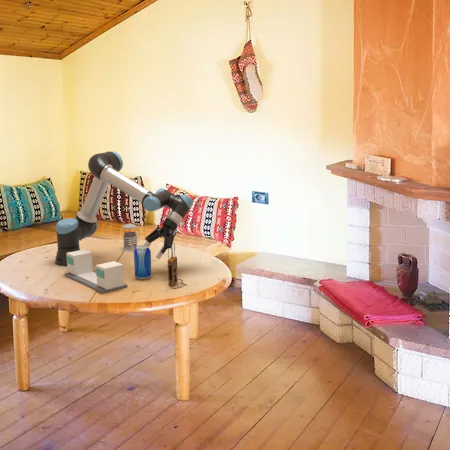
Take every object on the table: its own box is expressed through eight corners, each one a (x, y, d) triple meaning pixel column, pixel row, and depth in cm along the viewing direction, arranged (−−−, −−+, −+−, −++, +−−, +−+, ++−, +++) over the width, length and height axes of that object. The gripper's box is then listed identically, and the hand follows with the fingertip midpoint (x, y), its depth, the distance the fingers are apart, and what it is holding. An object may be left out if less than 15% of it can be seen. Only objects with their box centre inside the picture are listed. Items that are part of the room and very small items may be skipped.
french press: (130, 246, 390) (128, 205, 385) (144, 248, 384) (143, 207, 378) (118, 249, 382) (116, 208, 377) (133, 252, 376) (131, 210, 370)
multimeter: (186, 289, 310) (185, 249, 305) (166, 288, 312) (164, 248, 307) (193, 280, 324) (192, 241, 319) (174, 279, 326) (173, 240, 321)
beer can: (135, 275, 333) (134, 244, 330) (152, 274, 333) (151, 244, 330) (133, 280, 325) (132, 249, 321) (150, 279, 325) (149, 249, 321)
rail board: (64, 275, 333) (62, 253, 331) (88, 270, 342) (87, 248, 340) (102, 293, 305) (101, 269, 303) (127, 287, 314) (126, 263, 312)
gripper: (191, 230, 327) (168, 264, 321) (162, 222, 346) (140, 254, 340) (182, 221, 323) (159, 256, 317) (153, 213, 341) (131, 246, 335)
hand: (149, 255), depth 328 cm, fingers open, 13 cm apart
